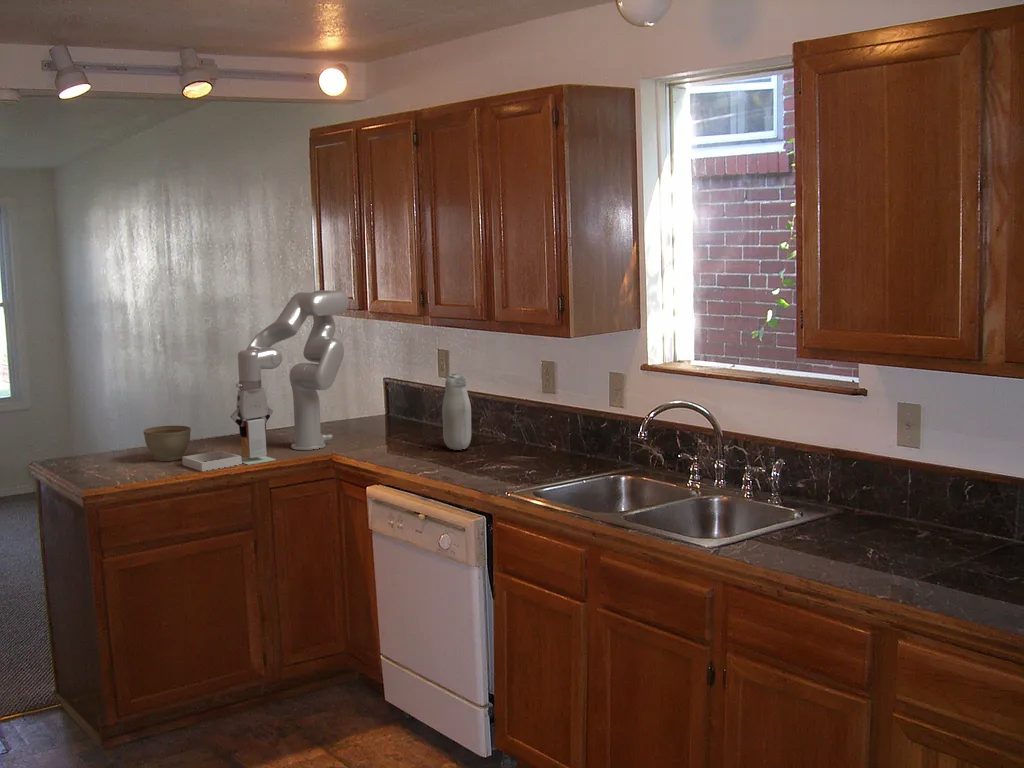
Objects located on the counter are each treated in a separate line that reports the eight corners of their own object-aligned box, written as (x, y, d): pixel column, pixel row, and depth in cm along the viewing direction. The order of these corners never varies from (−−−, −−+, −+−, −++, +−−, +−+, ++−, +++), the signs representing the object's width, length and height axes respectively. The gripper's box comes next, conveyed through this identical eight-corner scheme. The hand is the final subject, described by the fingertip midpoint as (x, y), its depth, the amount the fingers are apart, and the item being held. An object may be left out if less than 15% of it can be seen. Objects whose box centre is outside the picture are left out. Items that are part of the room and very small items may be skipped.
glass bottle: (477, 449, 393) (475, 373, 389) (455, 454, 386) (454, 376, 382) (459, 446, 400) (457, 371, 396) (438, 450, 393) (436, 374, 389)
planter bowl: (177, 464, 376) (175, 433, 375) (136, 462, 380) (134, 432, 379) (201, 455, 392) (199, 425, 390) (161, 453, 396) (159, 424, 394)
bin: (221, 458, 385) (221, 450, 384) (241, 464, 374) (241, 456, 374) (182, 465, 375) (182, 456, 375) (202, 471, 364) (201, 462, 364)
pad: (260, 455, 389) (260, 454, 389) (275, 460, 381) (275, 459, 381) (232, 460, 381) (232, 459, 381) (247, 465, 373) (247, 464, 373)
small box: (241, 454, 383) (239, 418, 381) (258, 452, 386) (256, 416, 384) (249, 458, 376) (247, 421, 374) (267, 455, 379) (265, 419, 377)
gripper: (233, 389, 369) (236, 440, 371) (277, 383, 380) (280, 433, 383) (222, 387, 374) (225, 437, 377) (267, 381, 386) (269, 430, 388)
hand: (253, 435), depth 380 cm, fingers closed on small box, 6 cm apart
